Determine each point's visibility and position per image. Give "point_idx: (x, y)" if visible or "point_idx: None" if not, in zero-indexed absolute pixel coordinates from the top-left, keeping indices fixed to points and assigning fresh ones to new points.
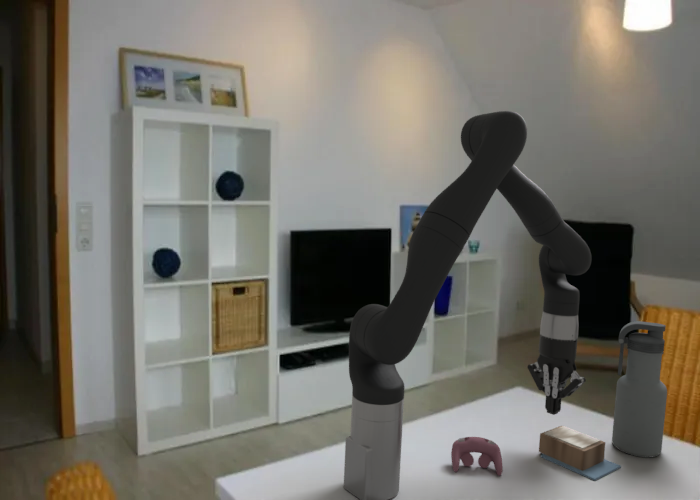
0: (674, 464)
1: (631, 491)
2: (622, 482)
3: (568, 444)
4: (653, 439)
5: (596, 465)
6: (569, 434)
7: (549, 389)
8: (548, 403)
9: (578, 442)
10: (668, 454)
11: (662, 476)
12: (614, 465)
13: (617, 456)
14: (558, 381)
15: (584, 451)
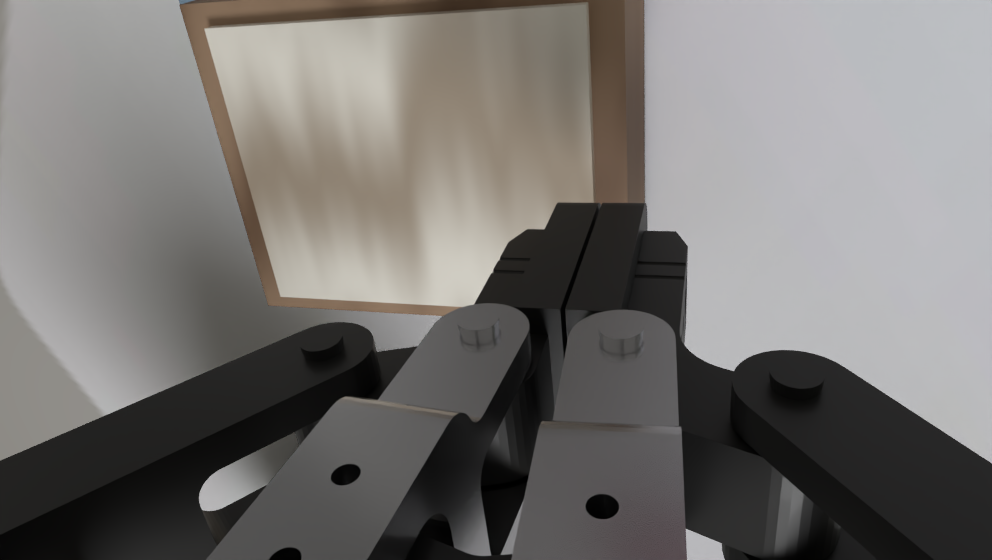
0: (221, 480)
1: (37, 35)
2: (128, 94)
3: (322, 5)
4: None
5: None
6: (448, 192)
7: (570, 385)
8: (613, 256)
9: (299, 105)
10: None
11: (143, 332)
12: None
13: None
14: (261, 512)
15: (181, 7)
